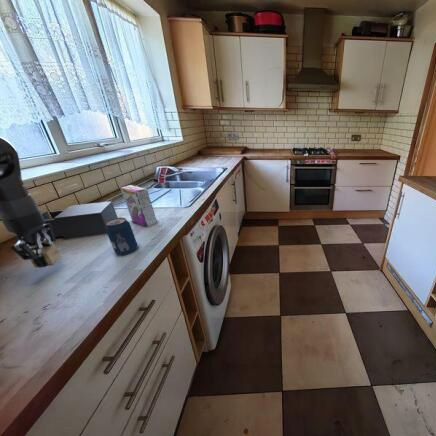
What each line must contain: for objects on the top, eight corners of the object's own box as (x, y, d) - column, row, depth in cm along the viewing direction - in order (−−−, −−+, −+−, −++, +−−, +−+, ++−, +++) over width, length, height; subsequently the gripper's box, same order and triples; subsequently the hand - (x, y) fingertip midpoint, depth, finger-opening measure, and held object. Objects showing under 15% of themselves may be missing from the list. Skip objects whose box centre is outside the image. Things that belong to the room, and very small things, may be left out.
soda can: (131, 243, 86) (120, 215, 81) (142, 248, 83) (132, 219, 78) (111, 253, 81) (98, 223, 75) (122, 258, 78) (110, 227, 72)
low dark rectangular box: (65, 239, 89) (53, 218, 85) (80, 225, 100) (70, 205, 95) (109, 233, 93) (100, 212, 89) (119, 220, 104) (111, 201, 99)
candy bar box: (131, 222, 102) (119, 187, 95) (142, 218, 106) (131, 184, 99) (147, 227, 97) (135, 191, 90) (158, 223, 101) (147, 188, 94)
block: (35, 268, 68) (27, 255, 66) (44, 259, 72) (37, 247, 70) (53, 265, 70) (46, 253, 68) (61, 256, 74) (55, 245, 72)
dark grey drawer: (19, 243, 85) (8, 225, 81) (38, 229, 95) (28, 212, 91) (78, 235, 90) (69, 217, 87) (90, 222, 100) (83, 206, 96)
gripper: (19, 204, 68) (46, 251, 76) (-20, 225, 56) (16, 279, 64) (51, 201, 70) (74, 247, 78) (19, 221, 58) (50, 273, 66)
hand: (48, 261), depth 71 cm, fingers closed on block, 4 cm apart
